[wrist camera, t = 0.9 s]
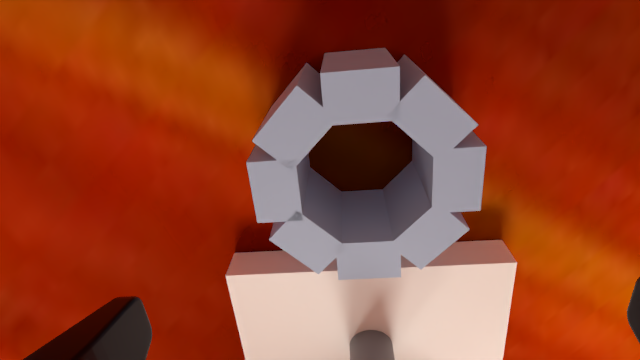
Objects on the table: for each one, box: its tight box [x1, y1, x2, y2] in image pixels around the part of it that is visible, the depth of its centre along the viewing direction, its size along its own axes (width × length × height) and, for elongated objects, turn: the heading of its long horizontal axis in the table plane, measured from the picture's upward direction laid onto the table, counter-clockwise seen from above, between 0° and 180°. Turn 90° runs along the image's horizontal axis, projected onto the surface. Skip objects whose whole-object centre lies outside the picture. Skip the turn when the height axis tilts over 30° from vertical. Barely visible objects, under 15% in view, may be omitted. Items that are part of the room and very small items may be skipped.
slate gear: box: [246, 48, 487, 280], centre depth 13 cm, size 7×7×4 cm
